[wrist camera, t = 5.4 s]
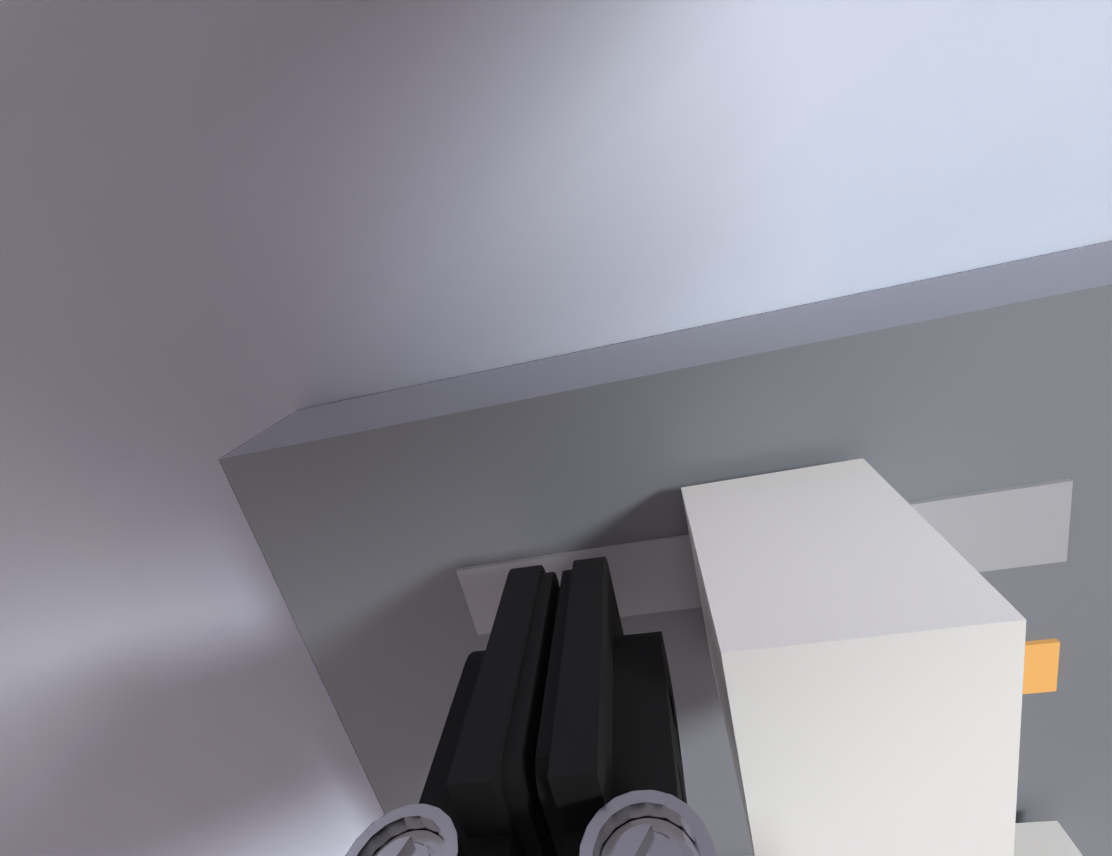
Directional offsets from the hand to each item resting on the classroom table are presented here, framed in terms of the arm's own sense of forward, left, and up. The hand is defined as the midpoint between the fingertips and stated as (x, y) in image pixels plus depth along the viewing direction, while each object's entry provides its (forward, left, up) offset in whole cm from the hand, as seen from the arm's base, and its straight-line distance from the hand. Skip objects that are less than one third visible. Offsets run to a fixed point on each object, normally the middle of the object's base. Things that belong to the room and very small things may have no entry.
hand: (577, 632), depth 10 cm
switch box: (+5, +3, -5) cm, 7 cm away
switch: (0, +4, -1) cm, 4 cm away
